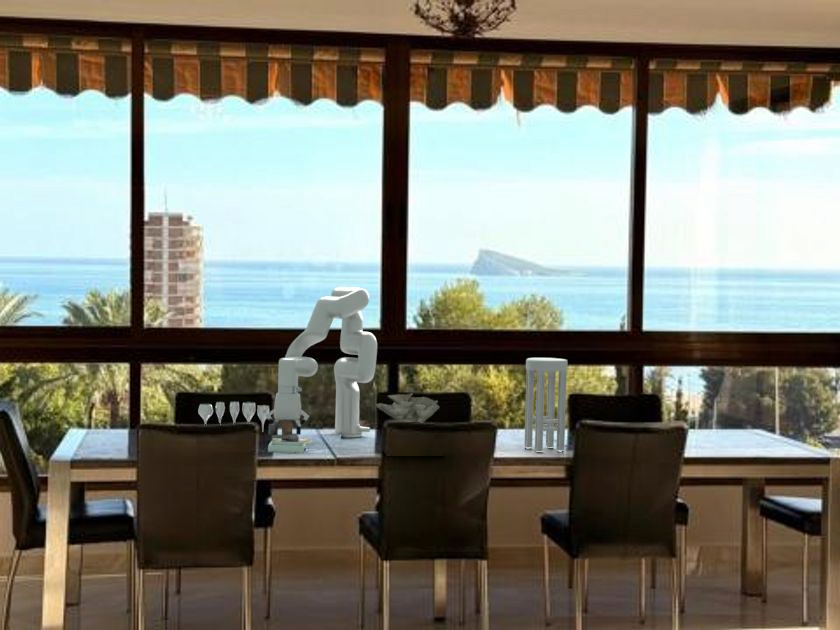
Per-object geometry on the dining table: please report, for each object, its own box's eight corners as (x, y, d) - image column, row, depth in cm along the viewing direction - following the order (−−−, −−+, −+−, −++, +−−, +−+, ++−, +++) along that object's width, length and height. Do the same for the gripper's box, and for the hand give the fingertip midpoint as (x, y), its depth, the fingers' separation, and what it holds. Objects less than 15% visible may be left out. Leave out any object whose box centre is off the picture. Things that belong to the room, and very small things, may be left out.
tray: (306, 448, 462) (306, 442, 462) (303, 453, 452) (303, 446, 452) (271, 448, 462) (271, 441, 462) (268, 452, 452) (268, 445, 452)
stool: (517, 447, 479) (519, 357, 477) (553, 446, 484) (555, 357, 483) (534, 454, 464) (537, 360, 463) (571, 452, 470) (574, 360, 468)
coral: (376, 456, 449) (377, 397, 448) (372, 448, 469) (374, 391, 468) (444, 457, 451) (446, 398, 450) (438, 449, 471) (439, 392, 471)
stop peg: (292, 439, 476) (293, 421, 476) (291, 440, 472) (292, 422, 472) (282, 438, 476) (282, 420, 476) (281, 440, 472) (281, 422, 472)
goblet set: (269, 434, 499) (269, 401, 498) (268, 436, 493) (268, 403, 492) (198, 433, 497) (199, 400, 496) (197, 435, 491) (197, 402, 490)
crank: (299, 440, 471) (299, 424, 471) (298, 442, 467) (298, 425, 467) (269, 439, 471) (269, 423, 471) (267, 441, 467) (268, 424, 467)
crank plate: (312, 442, 478) (312, 438, 478) (309, 448, 463) (309, 444, 463) (273, 441, 478) (273, 437, 478) (269, 447, 463) (269, 443, 463)
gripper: (311, 390, 477) (310, 435, 478) (266, 388, 477) (265, 434, 478) (309, 392, 470) (308, 438, 471) (263, 390, 470) (262, 437, 471)
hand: (286, 436), depth 474 cm, fingers open, 7 cm apart
